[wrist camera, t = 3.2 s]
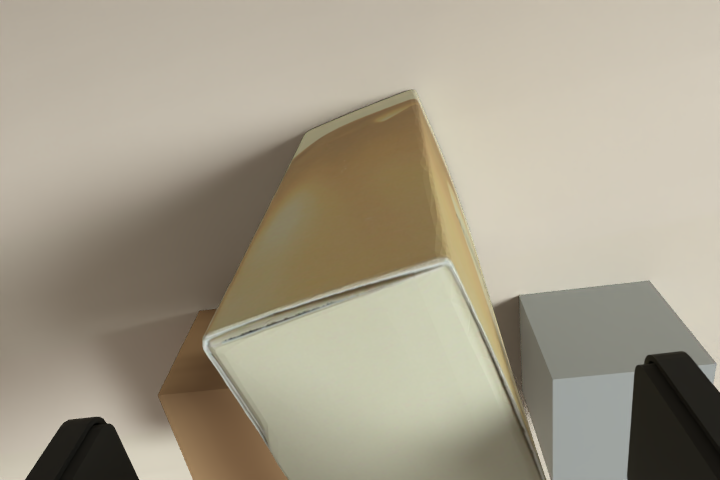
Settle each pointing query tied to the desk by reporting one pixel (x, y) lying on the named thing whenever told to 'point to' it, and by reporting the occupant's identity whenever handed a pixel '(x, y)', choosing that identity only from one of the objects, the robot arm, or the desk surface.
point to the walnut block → (212, 417)
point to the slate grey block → (593, 370)
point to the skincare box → (371, 316)
